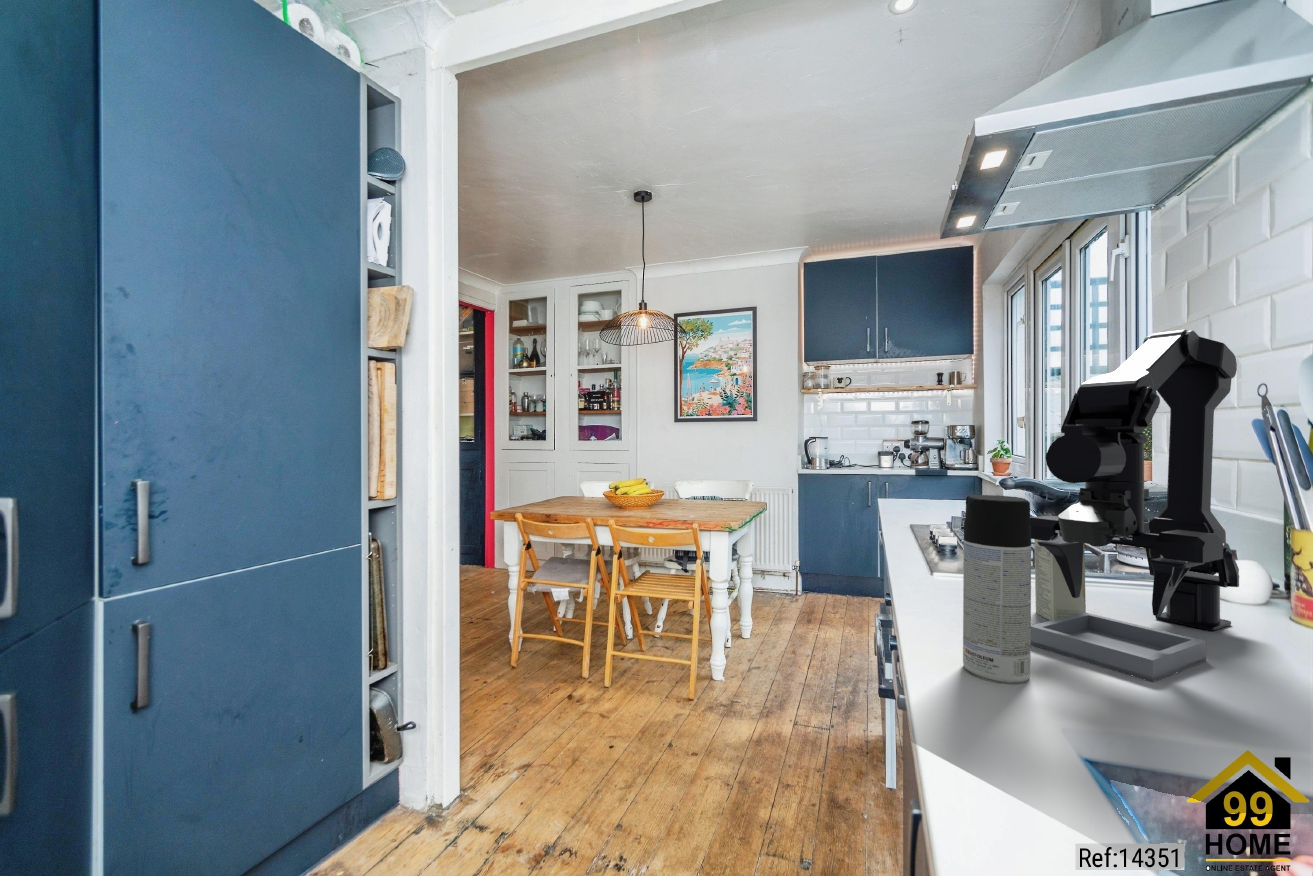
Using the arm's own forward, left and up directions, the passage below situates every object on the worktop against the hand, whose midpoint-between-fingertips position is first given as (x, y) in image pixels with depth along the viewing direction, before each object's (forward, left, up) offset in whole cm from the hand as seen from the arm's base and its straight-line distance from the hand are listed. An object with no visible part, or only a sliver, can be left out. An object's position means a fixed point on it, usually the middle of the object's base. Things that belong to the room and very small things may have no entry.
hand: (1114, 606), depth 72 cm
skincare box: (-9, -11, -6) cm, 15 cm away
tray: (0, 0, -6) cm, 6 cm away
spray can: (+19, -3, -6) cm, 20 cm away
